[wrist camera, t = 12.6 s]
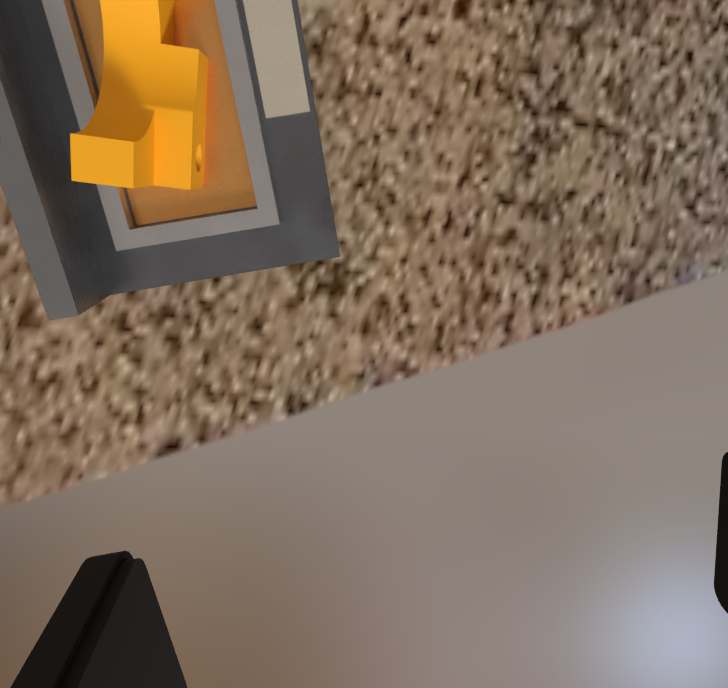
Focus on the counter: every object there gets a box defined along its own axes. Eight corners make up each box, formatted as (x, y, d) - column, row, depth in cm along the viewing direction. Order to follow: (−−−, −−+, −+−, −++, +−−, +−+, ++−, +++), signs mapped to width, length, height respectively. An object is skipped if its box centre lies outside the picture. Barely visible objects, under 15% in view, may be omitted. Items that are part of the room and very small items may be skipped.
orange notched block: (202, 187, 31) (174, 193, 24) (121, 176, 30) (71, 180, 24) (213, -67, 27) (182, -134, 21) (120, -84, 26) (60, -157, 20)
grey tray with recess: (263, -203, 26) (249, -293, 21) (339, 253, 33) (343, 271, 28) (-55, -158, 26) (-148, -238, 21) (91, 295, 33) (48, 320, 28)
